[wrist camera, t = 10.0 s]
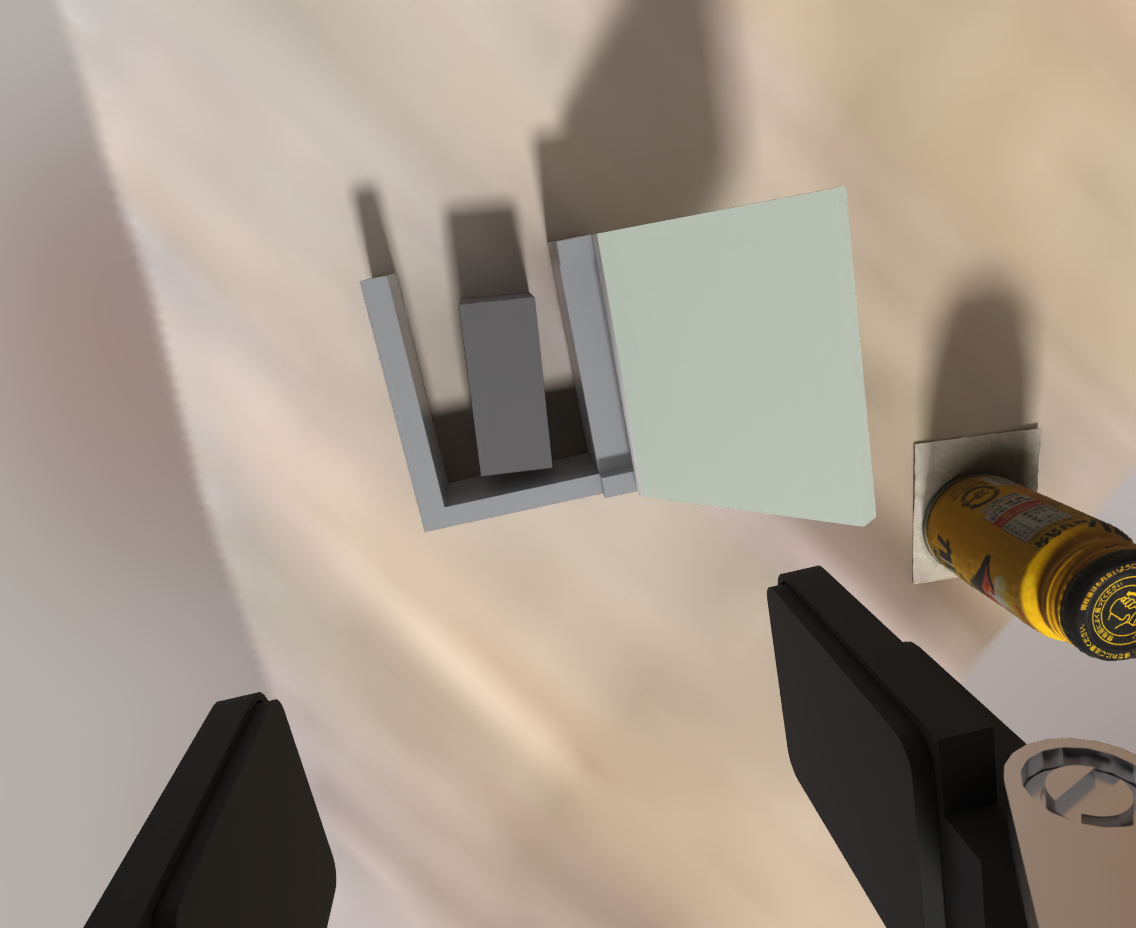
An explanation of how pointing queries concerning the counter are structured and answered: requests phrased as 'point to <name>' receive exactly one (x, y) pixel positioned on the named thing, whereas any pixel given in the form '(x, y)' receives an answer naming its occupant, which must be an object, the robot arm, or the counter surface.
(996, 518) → the condiment
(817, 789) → the robot arm
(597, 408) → the grey u-shaped block
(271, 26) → the counter surface
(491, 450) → the gray rectangular prism
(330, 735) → the counter surface
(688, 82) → the counter surface
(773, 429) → the lid
